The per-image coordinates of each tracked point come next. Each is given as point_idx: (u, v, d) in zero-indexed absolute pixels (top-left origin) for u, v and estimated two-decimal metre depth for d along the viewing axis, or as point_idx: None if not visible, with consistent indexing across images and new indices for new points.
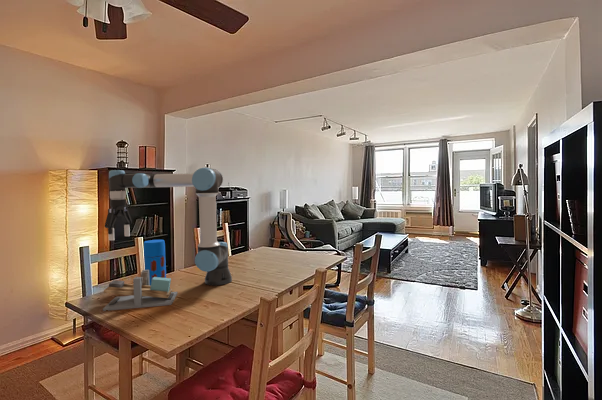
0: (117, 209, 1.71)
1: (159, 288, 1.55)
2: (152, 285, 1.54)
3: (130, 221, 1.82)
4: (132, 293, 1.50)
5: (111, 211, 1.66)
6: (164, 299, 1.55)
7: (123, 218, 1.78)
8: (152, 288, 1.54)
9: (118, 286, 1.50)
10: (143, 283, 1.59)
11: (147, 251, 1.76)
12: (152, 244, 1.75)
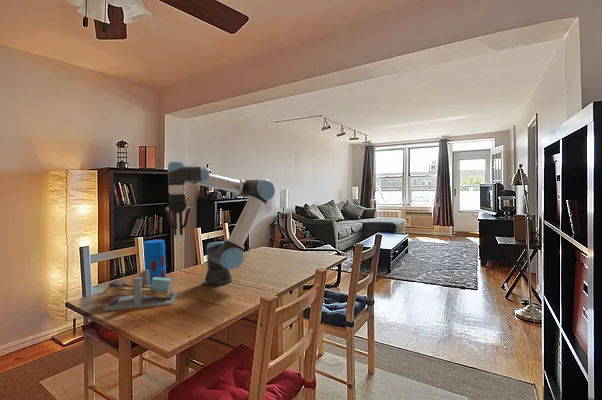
0: (170, 204, 1.55)
1: (159, 288, 1.55)
2: (152, 285, 1.54)
3: None
4: (132, 293, 1.50)
5: None
6: (164, 299, 1.55)
7: None
8: (152, 288, 1.54)
9: (118, 286, 1.50)
10: (143, 283, 1.59)
11: (147, 251, 1.76)
12: (152, 244, 1.75)
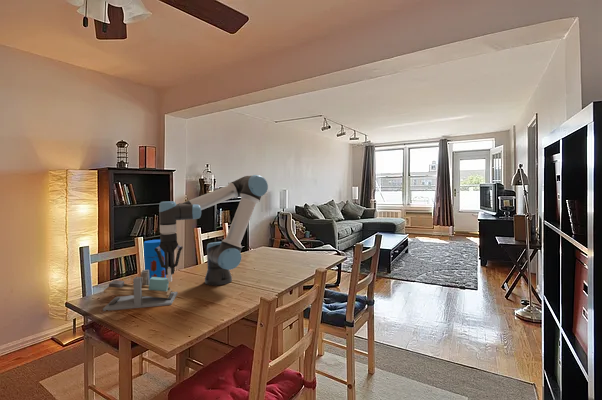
0: (162, 244, 1.55)
1: (157, 287, 1.54)
2: (150, 285, 1.54)
3: None
4: (132, 293, 1.50)
5: None
6: (164, 299, 1.55)
7: None
8: (150, 288, 1.54)
9: (118, 286, 1.50)
10: (143, 283, 1.59)
11: (147, 251, 1.76)
12: (152, 244, 1.75)
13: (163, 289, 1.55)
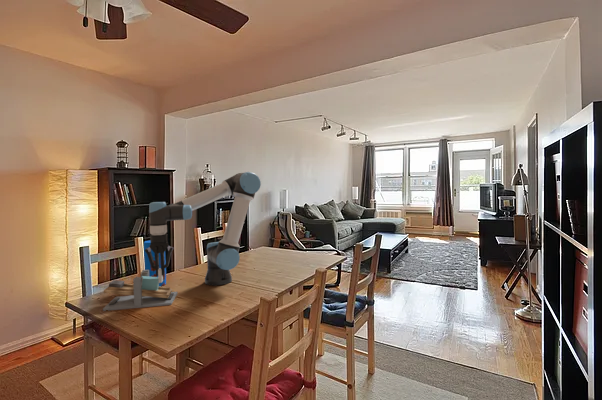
0: (152, 245, 1.54)
1: (147, 287, 1.54)
2: None
3: (165, 264, 1.56)
4: (132, 293, 1.50)
5: None
6: (164, 299, 1.55)
7: None
8: None
9: (118, 286, 1.50)
10: None
11: None
12: None
13: (153, 288, 1.54)
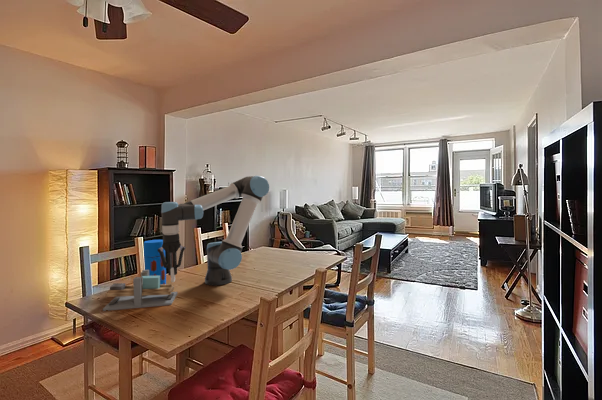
0: (164, 245, 1.55)
1: (148, 286, 1.54)
2: None
3: (177, 264, 1.57)
4: None
5: None
6: (164, 299, 1.55)
7: None
8: None
9: (119, 288, 1.50)
10: None
11: (147, 251, 1.76)
12: (152, 244, 1.75)
13: (155, 287, 1.54)
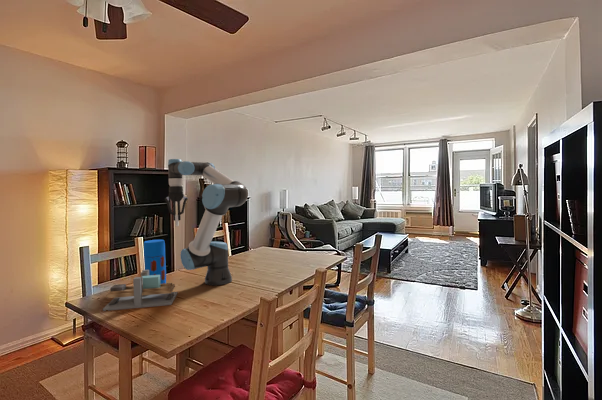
0: (170, 194, 1.86)
1: (149, 285, 1.54)
2: None
3: (181, 211, 1.87)
4: None
5: (165, 200, 1.86)
6: (164, 299, 1.55)
7: None
8: None
9: (120, 289, 1.51)
10: None
11: (147, 251, 1.76)
12: (152, 244, 1.75)
13: (155, 286, 1.54)
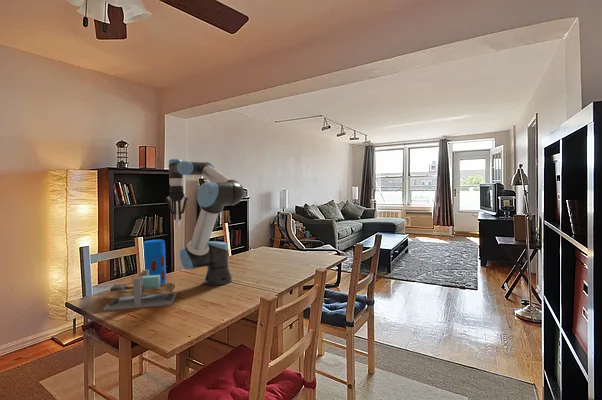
0: (171, 194, 1.88)
1: (149, 285, 1.54)
2: None
3: None
4: None
5: None
6: (164, 299, 1.55)
7: (178, 205, 1.90)
8: None
9: (120, 289, 1.51)
10: None
11: (147, 251, 1.76)
12: (152, 244, 1.75)
13: (155, 286, 1.54)
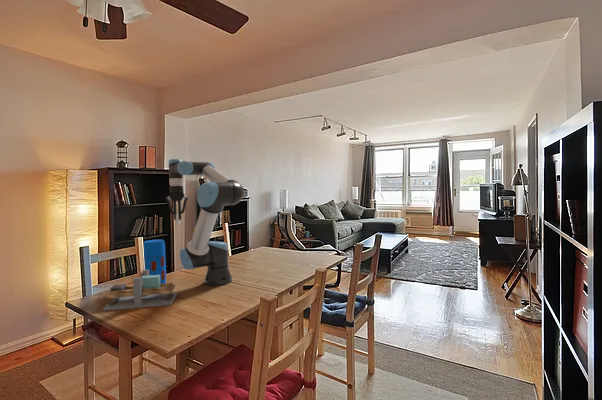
0: (171, 194, 1.88)
1: (149, 285, 1.54)
2: None
3: None
4: None
5: None
6: (164, 299, 1.55)
7: (178, 205, 1.90)
8: None
9: (120, 289, 1.51)
10: None
11: (147, 251, 1.76)
12: (152, 244, 1.75)
13: (155, 286, 1.54)
